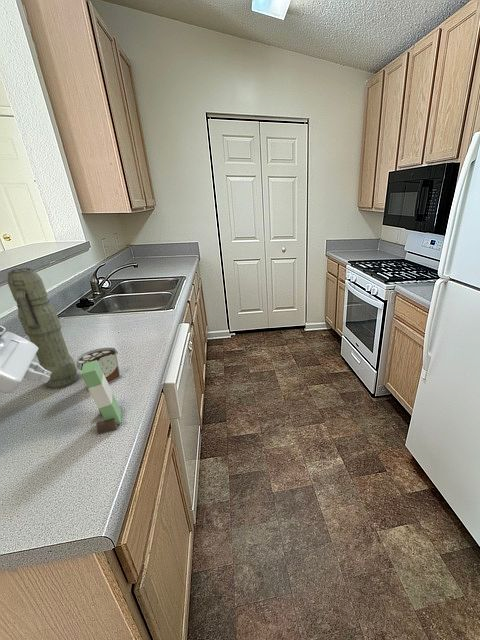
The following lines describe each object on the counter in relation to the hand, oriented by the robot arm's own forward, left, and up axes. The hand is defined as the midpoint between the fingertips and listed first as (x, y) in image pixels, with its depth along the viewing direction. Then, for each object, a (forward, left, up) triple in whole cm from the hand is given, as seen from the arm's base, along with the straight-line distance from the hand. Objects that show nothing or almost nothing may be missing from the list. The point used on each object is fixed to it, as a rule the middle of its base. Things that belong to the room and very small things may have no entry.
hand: (49, 378), depth 77 cm
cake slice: (+6, +23, -15) cm, 28 cm away
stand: (+9, -1, -15) cm, 17 cm away
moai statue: (-5, +29, -15) cm, 33 cm away
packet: (+8, -1, -7) cm, 10 cm away
